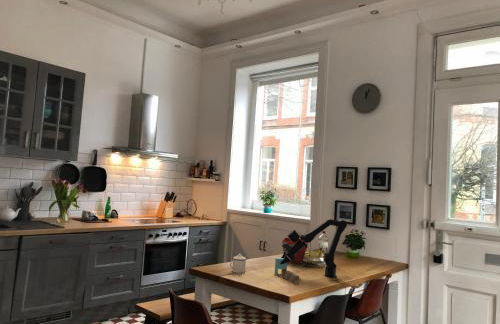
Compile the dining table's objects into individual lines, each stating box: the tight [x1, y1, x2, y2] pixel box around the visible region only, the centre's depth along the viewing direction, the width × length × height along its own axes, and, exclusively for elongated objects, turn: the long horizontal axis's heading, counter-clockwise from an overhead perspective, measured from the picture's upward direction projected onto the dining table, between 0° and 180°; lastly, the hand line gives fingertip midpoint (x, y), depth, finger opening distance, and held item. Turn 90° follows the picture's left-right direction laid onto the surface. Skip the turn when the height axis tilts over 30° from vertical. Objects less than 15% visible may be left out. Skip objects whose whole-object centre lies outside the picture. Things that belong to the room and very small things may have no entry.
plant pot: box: [281, 237, 309, 264], centre depth 318 cm, size 19×19×17 cm
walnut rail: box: [280, 269, 300, 285], centre depth 254 cm, size 20×2×5 cm, turn 21°
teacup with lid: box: [229, 253, 247, 274], centre depth 270 cm, size 12×9×12 cm
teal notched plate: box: [274, 257, 288, 274], centre depth 272 cm, size 8×2×10 cm, turn 90°
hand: (279, 262), depth 273 cm, fingers open, 9 cm apart
